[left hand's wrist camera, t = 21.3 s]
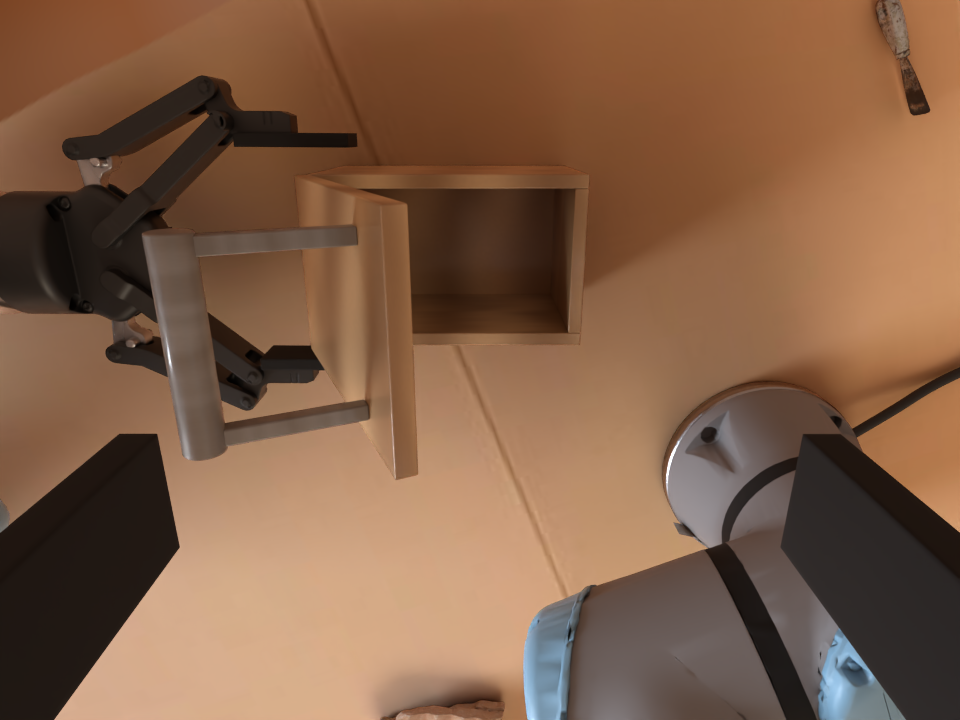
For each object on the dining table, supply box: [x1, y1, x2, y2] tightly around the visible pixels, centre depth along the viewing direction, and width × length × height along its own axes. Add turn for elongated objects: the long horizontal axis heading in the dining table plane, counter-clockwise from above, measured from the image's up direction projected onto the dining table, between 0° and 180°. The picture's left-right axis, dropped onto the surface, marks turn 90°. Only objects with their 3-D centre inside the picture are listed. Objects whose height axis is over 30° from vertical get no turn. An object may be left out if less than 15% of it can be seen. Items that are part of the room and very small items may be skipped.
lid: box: [142, 175, 418, 480], centre depth 27 cm, size 16×10×8 cm
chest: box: [307, 166, 590, 345], centre depth 40 cm, size 16×10×10 cm, turn 90°
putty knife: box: [876, 0, 930, 115], centre depth 40 cm, size 1×8×2 cm, turn 30°
